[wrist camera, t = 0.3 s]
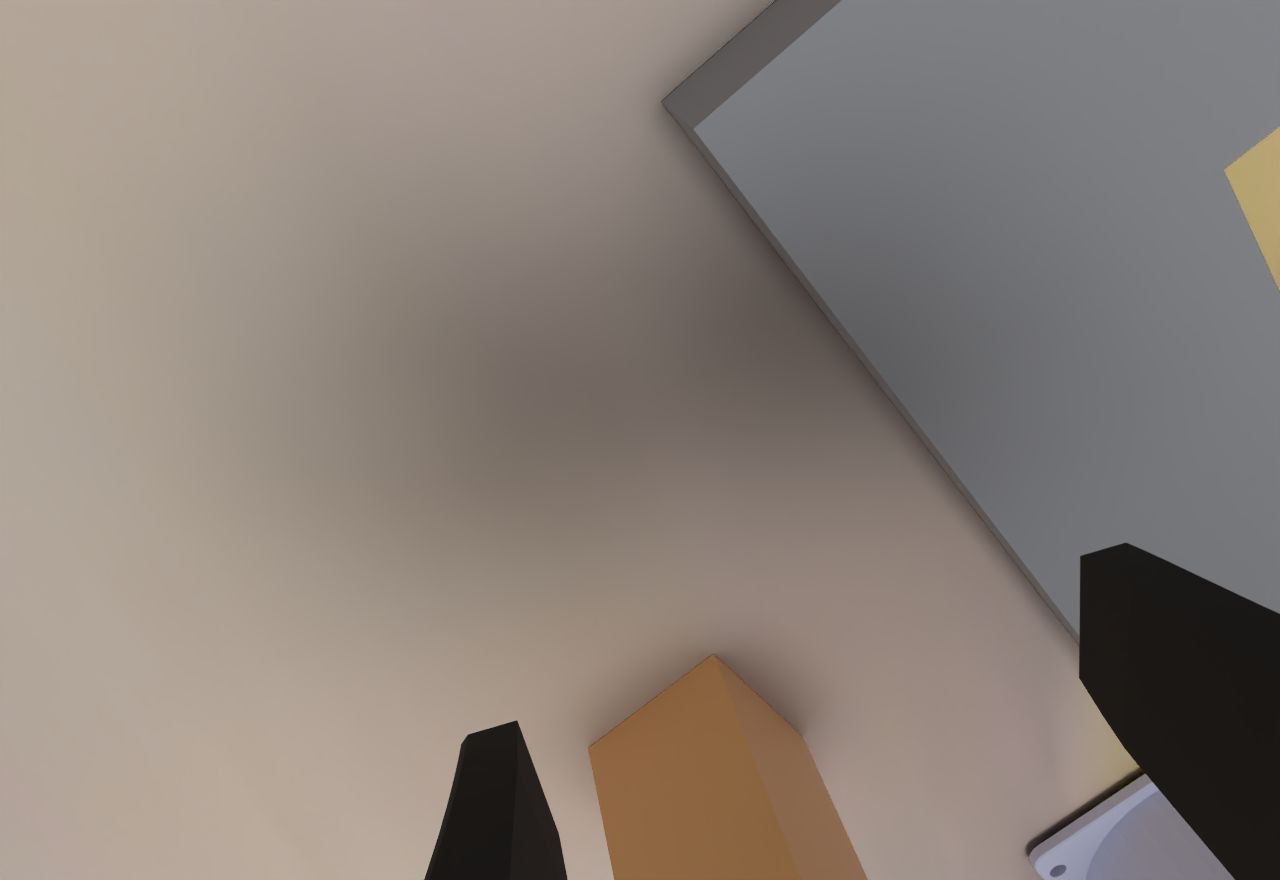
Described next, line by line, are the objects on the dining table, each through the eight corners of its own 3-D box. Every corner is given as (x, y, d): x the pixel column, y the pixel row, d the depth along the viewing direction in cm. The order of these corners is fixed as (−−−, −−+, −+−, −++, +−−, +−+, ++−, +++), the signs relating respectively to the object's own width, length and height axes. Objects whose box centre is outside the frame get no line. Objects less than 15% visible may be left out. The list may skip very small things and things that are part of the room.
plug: (802, 736, 27) (936, 1030, 20) (683, 821, 27) (773, 1135, 20) (712, 654, 25) (826, 947, 18) (588, 748, 26) (651, 1066, 19)
